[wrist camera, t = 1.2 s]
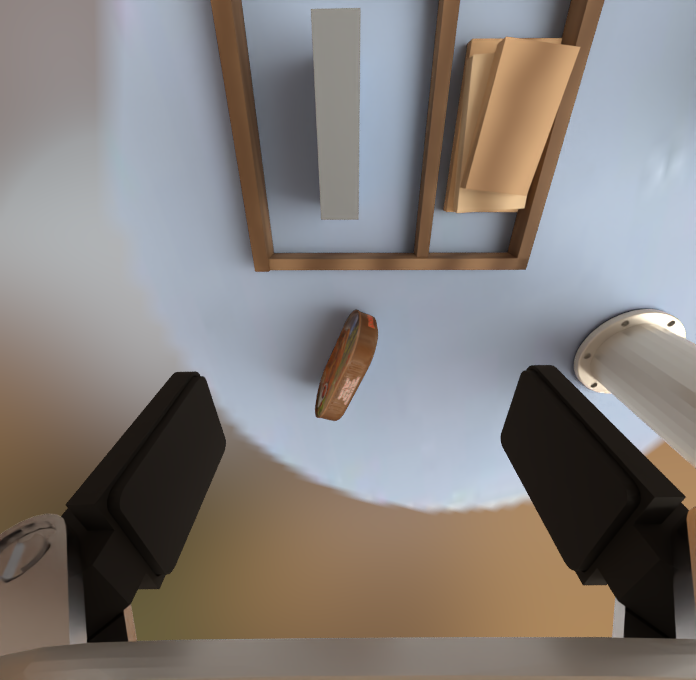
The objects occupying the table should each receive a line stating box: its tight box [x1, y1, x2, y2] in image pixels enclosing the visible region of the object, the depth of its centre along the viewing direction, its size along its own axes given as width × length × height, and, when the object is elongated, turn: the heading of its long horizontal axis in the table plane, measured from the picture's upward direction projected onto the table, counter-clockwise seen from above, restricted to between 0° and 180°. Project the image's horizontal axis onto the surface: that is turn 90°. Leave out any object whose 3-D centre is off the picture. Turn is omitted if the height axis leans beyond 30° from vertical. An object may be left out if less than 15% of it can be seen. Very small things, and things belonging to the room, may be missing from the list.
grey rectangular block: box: [311, 8, 360, 220], centre depth 25 cm, size 3×12×9 cm, turn 0°
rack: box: [211, 0, 604, 272], centre depth 28 cm, size 29×24×3 cm
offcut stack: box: [443, 37, 580, 213], centre depth 27 cm, size 7×13×5 cm, turn 0°
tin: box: [315, 310, 378, 421], centre depth 38 cm, size 15×3×8 cm, turn 158°
